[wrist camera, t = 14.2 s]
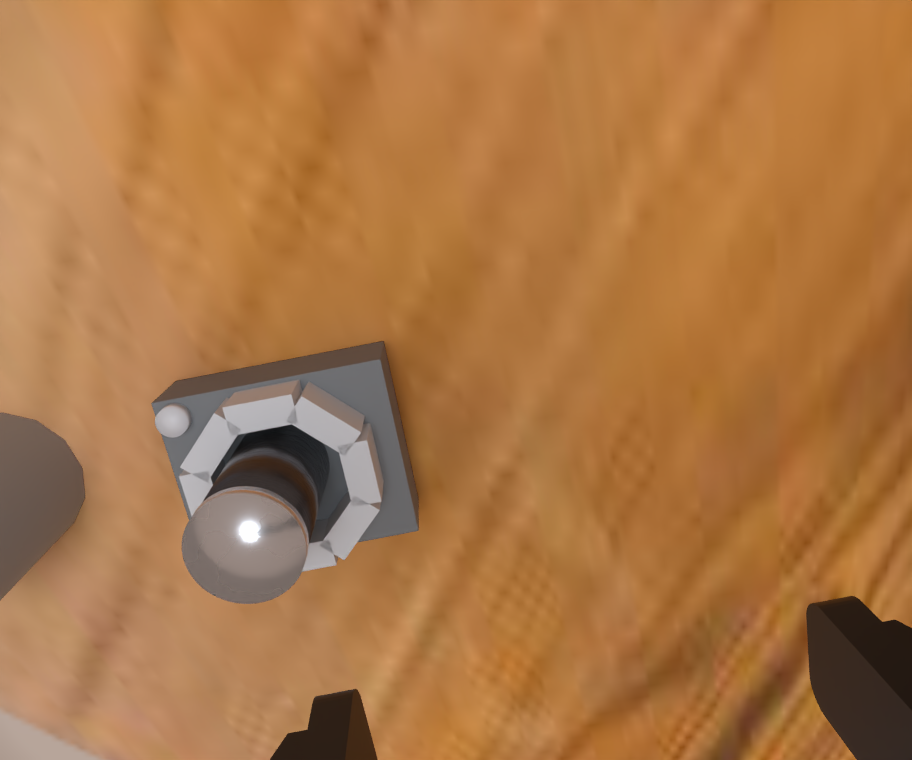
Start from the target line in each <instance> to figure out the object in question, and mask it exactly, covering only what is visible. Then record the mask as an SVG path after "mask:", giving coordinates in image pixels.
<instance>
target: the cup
mask: <svg viewBox="0 0 912 760" xmlns="http://www.w3.org/2000/svg"><path fill="white" fill-rule="evenodd" d="M84 499H85V489H84V479H83V470H82V467H81V465H80V463H79V462H78V460H77V459H76V457H75V455H74V454H73V452H72V451H71V449H70V447H69V446H68V444H67V443H66V441H65V440H64V439H62V438H61V437H60V436H58V435H57V434H55V433H54V432H52V431H51V430H49V429H48V428H47V427H45V426H44V425H42V424H41V423H39V422H38V421H37V420H33V419H28V418H24V417H20V416H15V415H11V414H7V413H0V600H1V599H2V598H3V597H4V596H5V595H6V594H7V593H8V592H9V591H10V590H11V589H12V588H13V586H14V585H15V584H16V583H17V582H18V581H19V580H20V579H21V578H22V577H23V576H24V575H25V574H26V573H27V572H28V571H29V570H30V569H31V568H32V566H33V565H34V564H35V563H36V562H37V561H38V560H39V559H40V558H41V557H42V556H43V555H44V554H45V553H46V552H47V551H48V550H49V549H50V548H51V546H52V545H53V544H54V543H55V542H56V541H57V540H58V539H59V538H60V537H61V536H62V535H63V534H64V533H65V532H66V531H67V530H68V529H69V528H70V526H71V525H72V524H73V523H74V522H75V519H76V517H77V515H78V513H79V510H80V508H81V506H82V504H83V501H84Z"/></svg>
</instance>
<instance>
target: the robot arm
mask: <svg viewBox="0 0 912 760" xmlns="http://www.w3.org/2000/svg"><path fill="white" fill-rule="evenodd" d="M806 614H807V635H808V653H809V672H810V681H811V685H812V689H813V692H814V695H815V698H816V700H817V703H818V705H819V707H820V709H821V711H822V712H823V714H824V715H825V717H826V718H827V720H828V721H829V722H830V724H831V725H832V726H833V728H834V729H835V731H836V732H837V733H838V735H839V736H840V737H841V739H842V740H843V741H844V743H845V744H846V746H847V747H848V748H849V750H850V751H851V752H852V754H853V755H854V756H855V758H856V759H857V760H912V628H910V627H908V626H906V625H904V624H903V623H901V622H899V621H897V620H891V621H885V622H882V621H881V620H880V619H879V618H878V617H877V616H875V615H874V614H873V613H872V612H871V611H870V610H869V609H868V608H867V607H866V606H865V605H864V604H863V603H862V602H861V601H860V600H859V599H858V598H856V597H854V596H849V597H844V598H838V599H833V600H828V601H823V602H817V603H812V604H810V605H809V606H808V608H807V613H806ZM270 760H377V756H376V752H375V748H374V744H373V741H372V737H371V733H370V730H369V726H368V722H367V718H366V715H365V711H364V707H363V704H362V700H361V696H360V694H359V692H358V690H357V689H353V690H348V691H342V692H337V693H332V694H327V695H321V696H316V697H315V698H314V700H313V704H312V709H311V714H310V719H309V724H308V730H304V731H299V732H293V733H288V734H287V736H286V737H285V738H284V740H283V741H282V743H281V744H280V746H279V747H278V749H277V750H276V752H275V753H274V754H273V756H272V757H271V759H270Z"/></svg>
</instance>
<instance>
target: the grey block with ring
mask: <svg viewBox="0 0 912 760" xmlns="http://www.w3.org/2000/svg"><path fill="white" fill-rule="evenodd" d="M151 404H152V407H153V410H154V413H155V416H156V418H155V425H156V428H157V430H158V431H159V432H160V433H161V435H162V438H163V441H164V444H165V447H166V450H167V453H168V456H169V459H170V462H171V465H172V469H173V472H174V475H175V478H176V481H177V484H178V487H179V490H180V493H181V496H182V499H183V503H184V506H185V509H186V512H187V515H188V518H189V520H190V519H191V517H192V516H193V514H194V512H195V511H196V509H197V508H198V507H199V506H200V505H201V503H202V502H203V500H204V499H205V497H206V496H207V494H208V492H209V491H210V489H211V488H212V486H213V484H214V483H215V481H216V480H217V478H218V476H219V475H220V473H221V472H222V470H223V468H224V467H225V465H226V464H227V462H228V460H229V459H230V457H231V456H232V454H233V453H234V451H235V449H236V448H237V446H238V445H239V443H240V441H241V440H242V438H243V437H244V436H245V435H246V434H247V433H249V432H255V431H260V430H265V429H270V428H275V427H281V426H286V425H291V424H292V425H294V426H295V427H297V428H299V429H300V430H302V431H304V432H305V433H307V434H309V435H310V436H312V437H314V438H315V439H317V440H319V441H320V442H322V443H323V444H324V446H325V448H326V450H327V453H328V457H329V463H330V468H329V475H328V479H327V483H326V486H325V490H324V493H323V497H322V500H321V504H320V507H319V511H318V514H317V518H316V521H315V525H314V529H313V532H312V536H311V539H310V543H309V549H308V554H307V558H306V561H305V565H304V567H303V570H302V572H303V571H308V570H313V569H318V568H324V567H329V566H334V565H337V560H338V557H339V558H341V559H343V560H345V558H346V557H347V556H348V554H349V553H350V551H351V550H352V549H353V547H354V546H355V544H356V543H357V542H362V541H367V540H372V539H378V538H383V537H388V536H393V535H399V534H404V533H409V532H414V531H419V516H418V495H417V490H416V486H415V481H414V476H413V472H412V467H411V463H410V458H409V454H408V449H407V445H406V440H405V436H404V431H403V427H402V422H401V418H400V413H399V409H398V404H397V399H396V395H395V390H394V386H393V381H392V377H391V372H390V368H389V363H388V359H387V354H386V350H385V345H384V341H381V342H376V343H371V344H366V345H360V346H355V347H350V348H345V349H340V350H334V351H329V352H324V353H319V354H314V355H309V356H303V357H298V358H293V359H288V360H283V361H277V362H272V363H267V364H262V365H257V366H252V367H246V368H241V369H236V370H231V371H226V372H220V373H215V374H210V375H205V376H200V377H195V378H189V379H184V380H179V381H175V382H174V383H173V384H172V385H171V386H170V387H169V388H168V389H167V390H165V391H164V392H163V393H162V394H161V395H160V396H159V397H158V398H157V399H156V400H154V401H153V402H152V403H151Z"/></svg>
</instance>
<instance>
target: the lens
mask: <svg viewBox="0 0 912 760" xmlns="http://www.w3.org/2000/svg"><path fill="white" fill-rule="evenodd" d="M329 468H330V463H329V457H328V453H327V450H326V448H325V446H324V444H323V443H322V442H320V441H319V440H317V439H315V438H314V437H312V436H310V435H309V434H307V433H305V432H304V431H302V430H300V429H299V428H297V427H295V426H294V425H292V424H291V425H286V426H281V427H275V428H270V429H265V430H260V431H255V432H249V433H247V434H246V435H245V436H244V437H243V438H242V440H241V441H240V443H239V445H238V446H237V448H236V449H235V451H234V453H233V454H232V456H231V457H230V459H229V460H228V462H227V464H226V465H225V467H224V468H223V470H222V472H221V473H220V475H219V476H218V478H217V480H216V481H215V483H214V484H213V486H212V488H211V489H210V491H209V492H208V494H207V496H206V497H205V499H204V500H203V502H202V503H201V505H200V506H199V507H198V508H197V509H196V511H195V512H194V514H193V516H192V517H191V519H190V520H189V522H188V524H187V526H186V528H185V531H184V534H183V538H182V554H183V559H184V562H185V565H186V567H187V569H188V571H189V573H190V574H191V576H192V577H193V579H194V580H195V581H196V582H197V583H198V584H199V585H200V586H201V587H202V588H203V589H205V590H206V591H207V592H209V593H210V594H212V595H214V596H216V597H218V598H221V599H223V600H226V601H230V602H234V603H242V604H253V603H260V602H265V601H268V600H271V599H273V598H276V597H278V596H280V595H281V594H283V593H284V592H286V591H287V590H288V589H289V588H290V587H291V586H292V585H293V584H294V583H295V582H296V581H297V579H298V578H299V576H300V574H301V572H302V570H303V567H304V565H305V561H306V558H307V554H308V549H309V543H310V539H311V536H312V532H313V529H314V525H315V521H316V518H317V514H318V511H319V507H320V504H321V500H322V497H323V493H324V490H325V486H326V483H327V479H328V475H329Z"/></svg>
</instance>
